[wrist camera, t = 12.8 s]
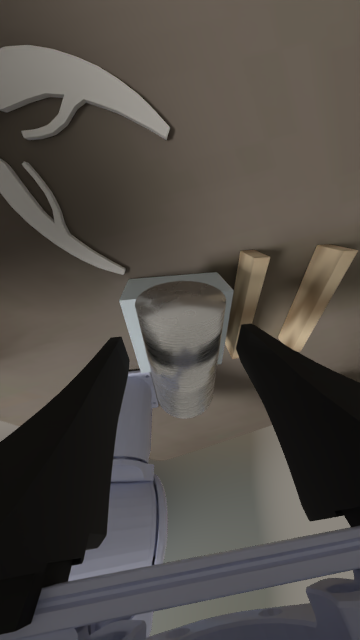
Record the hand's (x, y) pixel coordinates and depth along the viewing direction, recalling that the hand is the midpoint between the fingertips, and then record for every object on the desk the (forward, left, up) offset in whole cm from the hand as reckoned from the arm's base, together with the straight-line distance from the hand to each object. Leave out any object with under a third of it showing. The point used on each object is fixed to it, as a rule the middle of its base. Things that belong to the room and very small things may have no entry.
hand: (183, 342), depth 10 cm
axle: (-2, 0, -3) cm, 4 cm away
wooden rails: (-2, -10, -7) cm, 12 cm away
